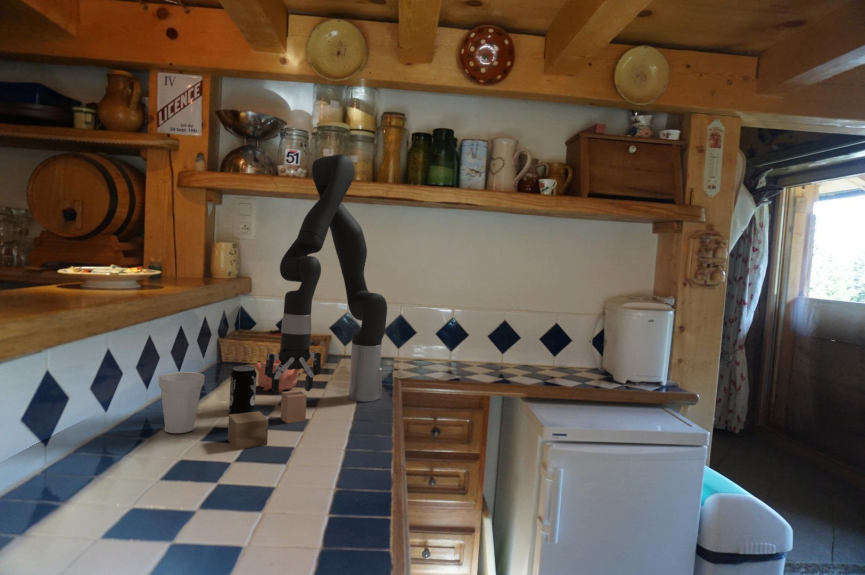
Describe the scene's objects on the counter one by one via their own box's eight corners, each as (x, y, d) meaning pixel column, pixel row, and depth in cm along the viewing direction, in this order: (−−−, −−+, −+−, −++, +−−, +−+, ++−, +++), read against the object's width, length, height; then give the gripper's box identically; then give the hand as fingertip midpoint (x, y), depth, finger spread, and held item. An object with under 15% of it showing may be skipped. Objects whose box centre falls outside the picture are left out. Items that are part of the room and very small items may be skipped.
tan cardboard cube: (298, 415, 141) (299, 390, 141) (305, 421, 137) (306, 395, 137) (280, 418, 138) (281, 392, 138) (286, 423, 134) (288, 396, 134)
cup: (193, 421, 131) (195, 370, 131) (209, 432, 124) (211, 378, 123) (150, 428, 124) (152, 374, 124) (164, 440, 117) (166, 383, 116)
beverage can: (246, 415, 138) (248, 371, 138) (224, 412, 139) (226, 368, 139) (259, 409, 145) (261, 366, 144) (237, 406, 146) (239, 364, 145)
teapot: (254, 395, 159) (256, 362, 158) (252, 385, 170) (254, 354, 169) (302, 393, 164) (304, 361, 163) (297, 384, 175) (299, 354, 174)
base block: (258, 436, 124) (259, 411, 124) (267, 445, 119) (268, 419, 118) (227, 440, 120) (228, 414, 120) (235, 450, 115) (236, 423, 114)
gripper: (316, 328, 144) (312, 386, 145) (264, 328, 136) (260, 390, 137) (327, 333, 138) (322, 393, 138) (273, 333, 130) (268, 397, 130)
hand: (291, 391), depth 137 cm, fingers open, 8 cm apart
